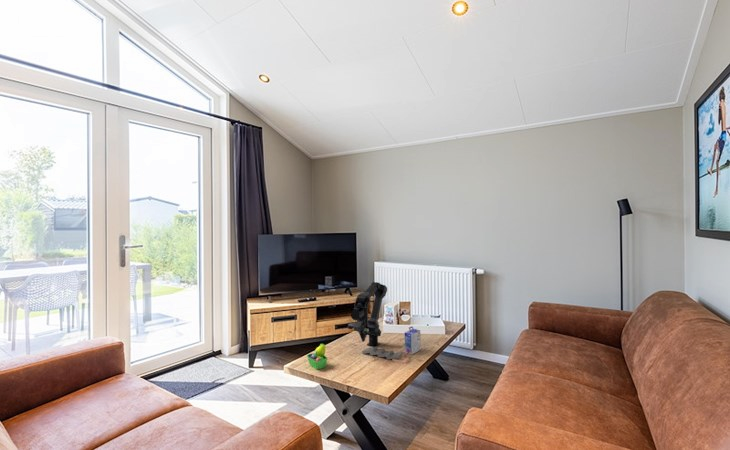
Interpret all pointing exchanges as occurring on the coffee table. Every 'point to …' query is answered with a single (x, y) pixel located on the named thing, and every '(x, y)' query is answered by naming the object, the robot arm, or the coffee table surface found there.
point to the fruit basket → (318, 357)
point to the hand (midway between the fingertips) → (363, 341)
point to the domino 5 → (401, 360)
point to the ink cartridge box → (412, 341)
